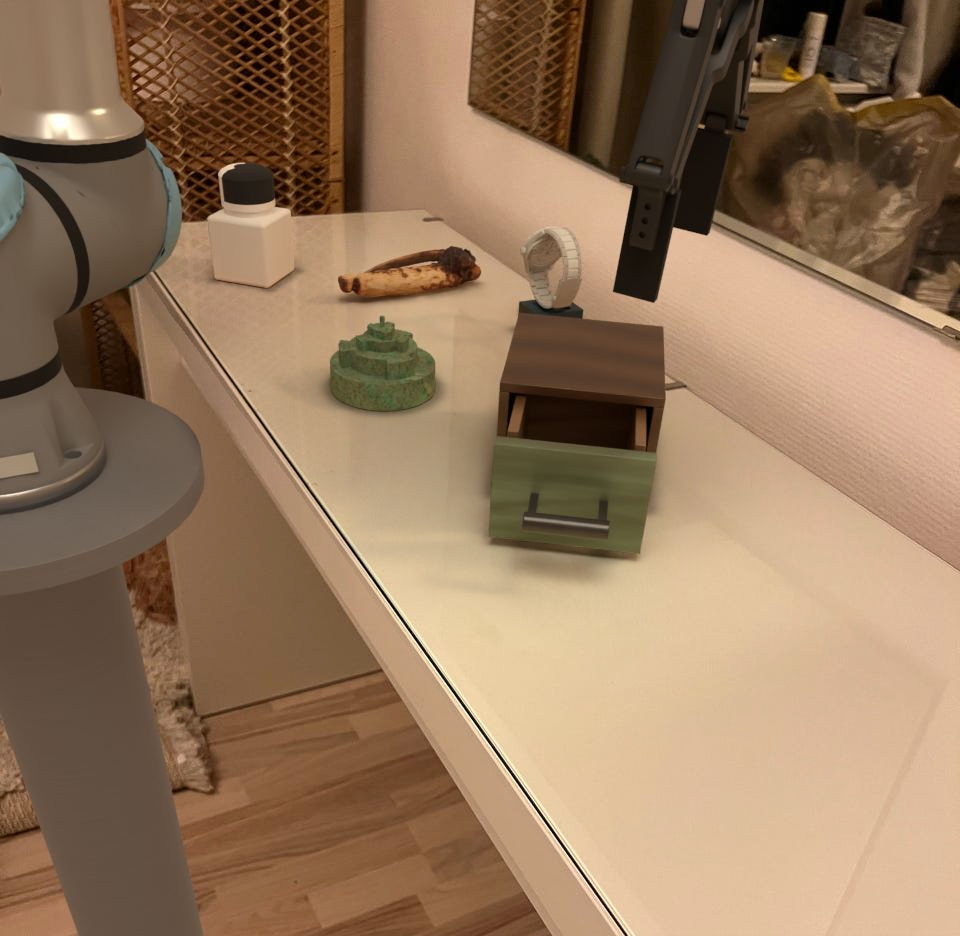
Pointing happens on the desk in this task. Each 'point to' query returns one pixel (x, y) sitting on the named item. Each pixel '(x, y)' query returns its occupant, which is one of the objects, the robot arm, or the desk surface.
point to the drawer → (572, 474)
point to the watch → (542, 256)
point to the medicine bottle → (250, 228)
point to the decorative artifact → (382, 370)
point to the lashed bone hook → (414, 274)
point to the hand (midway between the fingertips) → (664, 260)
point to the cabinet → (586, 366)
